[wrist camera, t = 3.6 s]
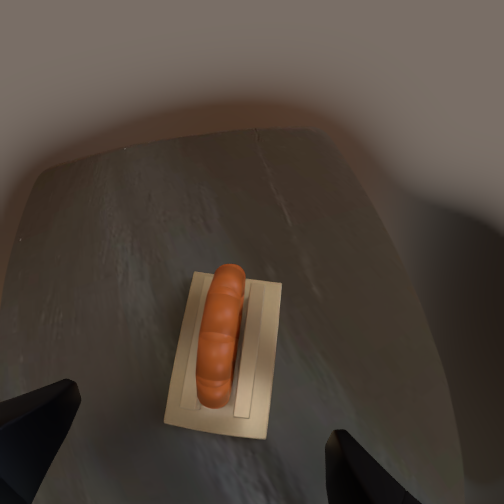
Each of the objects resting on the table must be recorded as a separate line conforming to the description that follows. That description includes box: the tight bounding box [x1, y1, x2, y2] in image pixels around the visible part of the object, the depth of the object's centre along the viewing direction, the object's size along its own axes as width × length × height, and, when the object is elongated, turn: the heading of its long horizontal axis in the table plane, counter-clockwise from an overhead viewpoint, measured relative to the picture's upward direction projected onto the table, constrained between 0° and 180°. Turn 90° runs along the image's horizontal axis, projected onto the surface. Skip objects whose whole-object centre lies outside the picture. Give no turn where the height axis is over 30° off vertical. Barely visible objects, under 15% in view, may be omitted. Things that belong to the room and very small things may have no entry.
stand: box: [164, 272, 282, 439], centre depth 18 cm, size 12×7×4 cm, turn 173°
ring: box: [195, 264, 246, 409], centre depth 15 cm, size 8×2×8 cm, turn 173°
